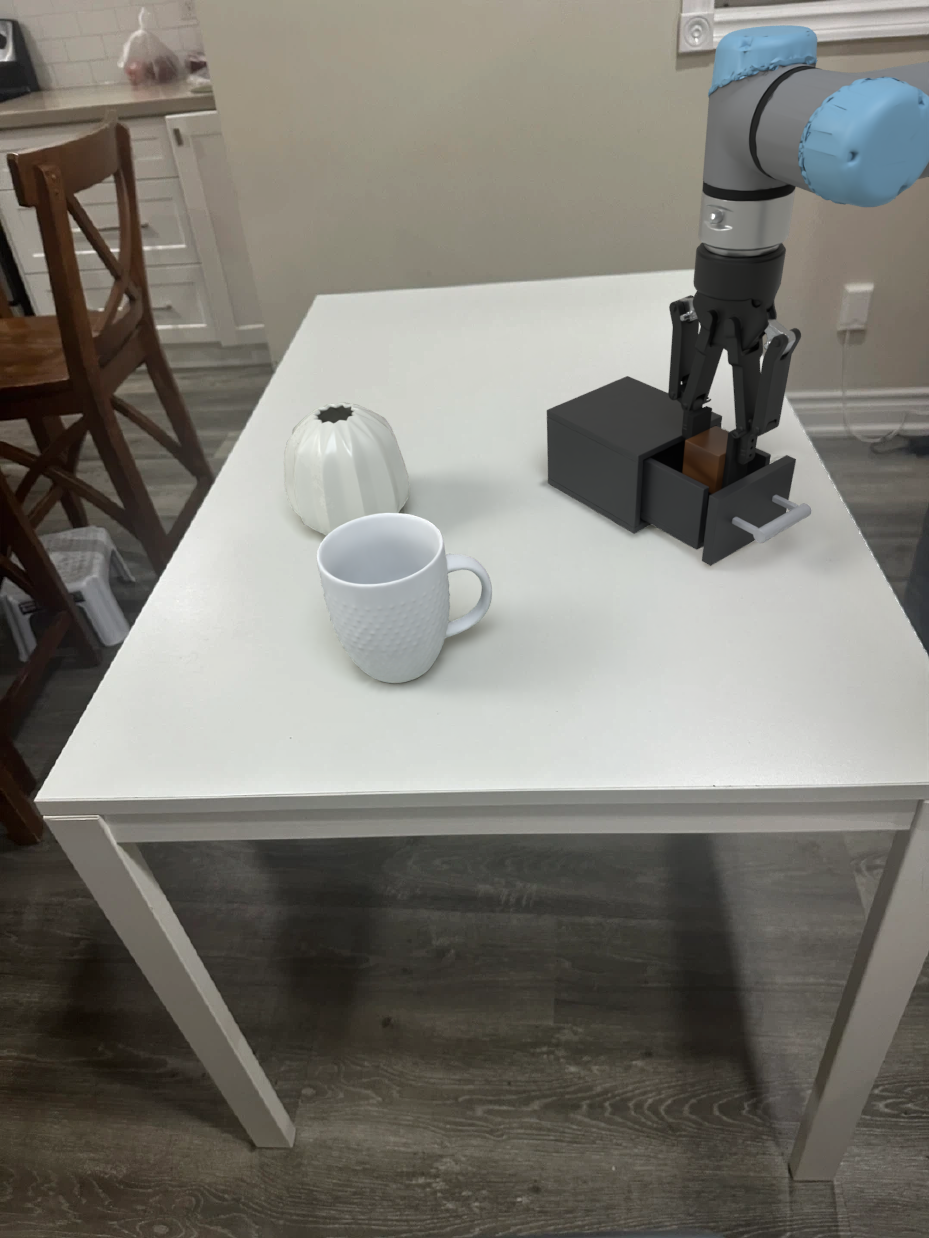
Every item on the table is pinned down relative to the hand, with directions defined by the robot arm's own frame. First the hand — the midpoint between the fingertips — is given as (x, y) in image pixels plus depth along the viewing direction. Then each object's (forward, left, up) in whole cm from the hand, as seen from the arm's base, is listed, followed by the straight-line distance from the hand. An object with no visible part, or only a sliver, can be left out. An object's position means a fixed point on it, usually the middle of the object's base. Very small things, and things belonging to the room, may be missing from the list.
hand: (713, 476), depth 90 cm
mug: (+11, +35, -7) cm, 37 cm away
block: (0, 0, 0) cm, 0 cm away
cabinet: (+12, -2, -7) cm, 14 cm away
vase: (+34, +22, -7) cm, 41 cm away
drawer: (-1, 0, -6) cm, 6 cm away
